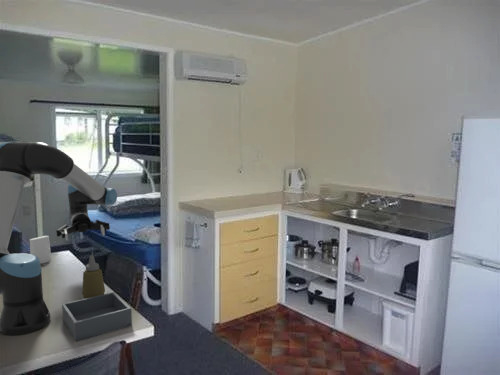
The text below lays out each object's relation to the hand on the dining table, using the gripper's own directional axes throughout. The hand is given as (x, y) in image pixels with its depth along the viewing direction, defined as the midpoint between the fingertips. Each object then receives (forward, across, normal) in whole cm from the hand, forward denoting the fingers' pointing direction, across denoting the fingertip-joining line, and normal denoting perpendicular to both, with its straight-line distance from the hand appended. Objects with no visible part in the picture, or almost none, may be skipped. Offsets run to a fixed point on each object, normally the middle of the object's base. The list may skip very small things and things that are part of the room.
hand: (85, 234), depth 162 cm
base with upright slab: (-55, +18, -26) cm, 64 cm away
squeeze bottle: (+11, 0, -24) cm, 26 cm away
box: (+31, +1, -22) cm, 38 cm away
